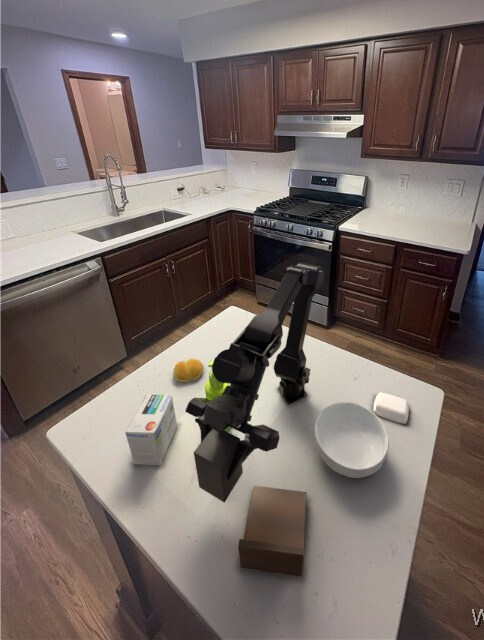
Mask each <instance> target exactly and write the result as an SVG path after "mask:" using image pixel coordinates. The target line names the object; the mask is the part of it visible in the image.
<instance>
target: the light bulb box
mask: <svg viewBox="0 0 484 640" xmlns="http://www.w3.org/2000/svg"><path fill="white" fill-rule="evenodd" d="M175 410H176V409H175V406H174V400H173V395H172V394H146V395H145V396H144V398H143V400H142V402H141V404H140V405H139V408H138V409H137V411H136V413H135V415H134V417H133V418H132V421H131V422H130V423H129V425H128V427H127V428H126V430H125V431H124V434H125V437H126V440H127V444H128V447H129V451H130V454H131V458H132V461H133V464H135V465H145V466H147V465H148V466H161V465H162V464H163V461H164V459H165V456H166V453H167V451H168V450H169V446H170V444H171V441H172V439H173V436H174V434H175V432H176V430H177V427H178V422H177V417H176V411H175Z"/></svg>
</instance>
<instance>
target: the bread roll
mask: <svg viewBox="0 0 484 640" xmlns="http://www.w3.org/2000/svg"><path fill="white" fill-rule="evenodd" d="M204 370H205V369H204V364H203V362H202V361H201V360H199V359H196V358H190V359H188V360H187V361H186V360H182V361H178V362H177V363H175V365H174V368H173V380H174V381H176V382H179V383H186V382H191V381H195V380H198V379H199V378H200V377H201V376H202V374H203V373H204Z"/></svg>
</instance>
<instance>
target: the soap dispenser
mask: <svg viewBox="0 0 484 640" xmlns="http://www.w3.org/2000/svg"><path fill="white" fill-rule="evenodd" d="M213 361H214V359H210V361H209V362H208V364H207V368H212V366H213ZM226 386H230V384H229V383H221V382H219V381H218V380H217V379H216V378H215V377H214V374H213V370H212V369H211V370H210V371H209V372H208V380H207V381H206V382H205V384H204V391H205V398H207V399H209V400H212V399H214V398H216V397H218V396H221V395H222V394H223V392H224V390H225V388H226ZM230 428H231V427H228V428H227V429H226V430H224V431H226V432H227V431H228V430H229V429H230Z"/></svg>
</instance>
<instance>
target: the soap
mask: <svg viewBox="0 0 484 640" xmlns="http://www.w3.org/2000/svg"><path fill="white" fill-rule="evenodd" d="M373 413H374V414H375V415H376V416H378V417H381V418H384V419H386V420H389V421H393V422H396V423H399V424H404V425H406V424H407V422H408V419H409V413H410V411H409V403H408V400H407V399H405V398H401V397H398V396H395V395H393V394H390V393H386V392H382V391H379V392H378V394H377V395H376V397H375V399H374V403H373Z"/></svg>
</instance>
